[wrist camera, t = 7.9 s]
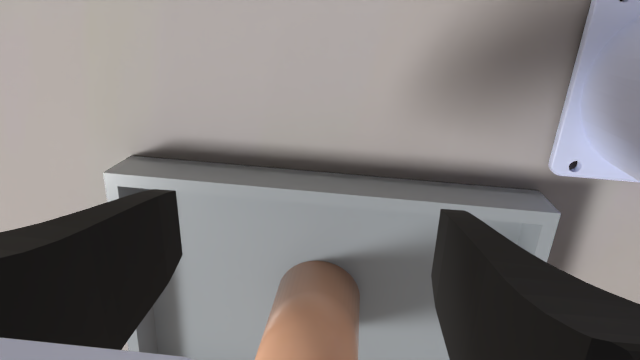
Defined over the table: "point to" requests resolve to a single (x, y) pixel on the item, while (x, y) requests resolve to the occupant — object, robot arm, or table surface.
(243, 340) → the tray
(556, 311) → the robot arm
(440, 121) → the table surface
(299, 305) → the shaker
